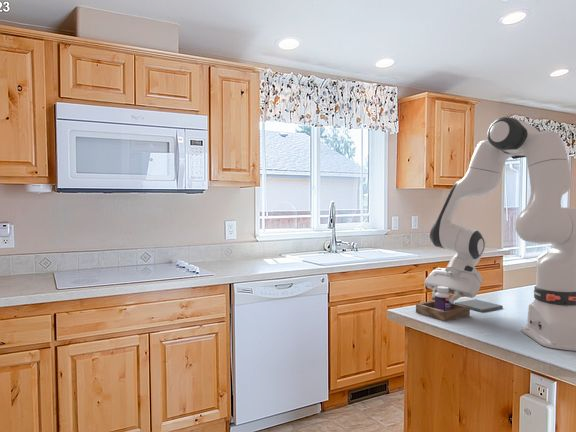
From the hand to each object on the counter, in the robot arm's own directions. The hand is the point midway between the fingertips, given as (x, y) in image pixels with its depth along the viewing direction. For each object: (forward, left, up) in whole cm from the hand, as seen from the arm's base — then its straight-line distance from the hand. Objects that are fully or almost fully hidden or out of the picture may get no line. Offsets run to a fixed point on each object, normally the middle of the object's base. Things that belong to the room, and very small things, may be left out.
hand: (441, 300), depth 156 cm
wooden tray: (0, 0, -5) cm, 5 cm away
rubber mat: (+15, -14, -5) cm, 22 cm away
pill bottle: (0, 0, -5) cm, 5 cm away
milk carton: (+53, -47, -5) cm, 72 cm away
